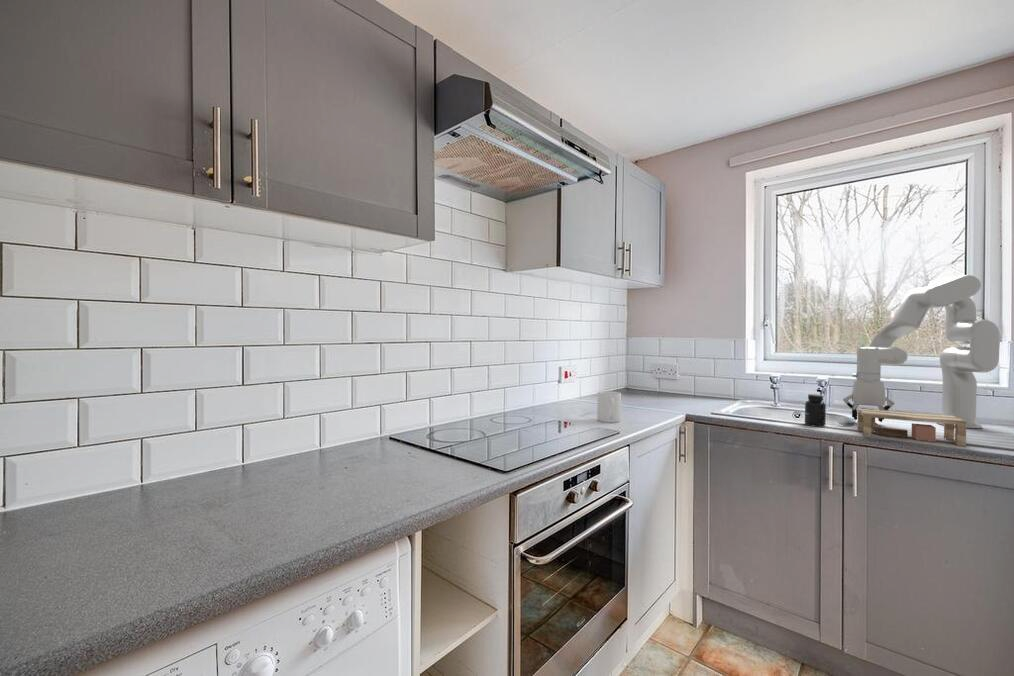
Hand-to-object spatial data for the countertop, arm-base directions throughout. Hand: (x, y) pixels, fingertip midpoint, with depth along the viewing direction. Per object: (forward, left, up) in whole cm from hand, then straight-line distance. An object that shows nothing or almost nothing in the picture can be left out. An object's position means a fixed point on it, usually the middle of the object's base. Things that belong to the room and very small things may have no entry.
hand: (867, 420), depth 177 cm
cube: (+24, +11, -2) cm, 27 cm away
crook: (+11, +3, -1) cm, 11 cm away
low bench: (+24, +7, -1) cm, 25 cm away
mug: (+53, -91, -2) cm, 105 cm away
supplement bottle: (+15, -19, -2) cm, 24 cm away
